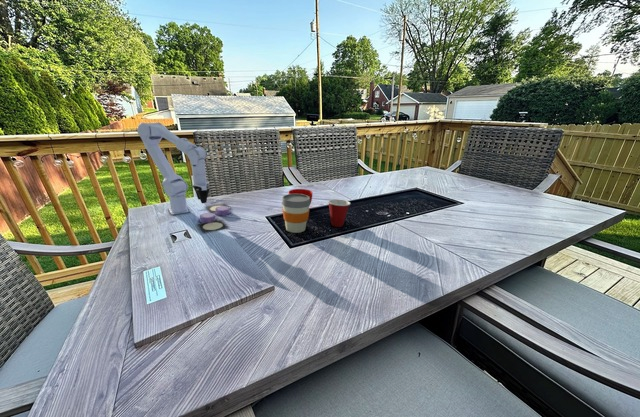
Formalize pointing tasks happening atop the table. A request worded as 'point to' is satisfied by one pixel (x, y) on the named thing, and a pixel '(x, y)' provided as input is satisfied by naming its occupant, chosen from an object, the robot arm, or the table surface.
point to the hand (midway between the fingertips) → (202, 201)
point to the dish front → (207, 217)
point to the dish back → (222, 210)
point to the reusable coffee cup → (295, 212)
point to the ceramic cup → (302, 192)
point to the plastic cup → (338, 211)
